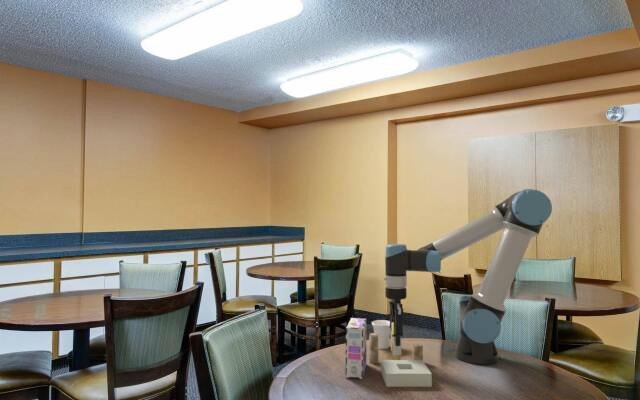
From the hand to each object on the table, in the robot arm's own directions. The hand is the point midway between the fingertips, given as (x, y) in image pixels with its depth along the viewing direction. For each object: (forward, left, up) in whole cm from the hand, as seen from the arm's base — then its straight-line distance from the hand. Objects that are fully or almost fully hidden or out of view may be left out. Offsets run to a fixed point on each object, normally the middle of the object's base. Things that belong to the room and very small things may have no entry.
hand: (396, 352), depth 149 cm
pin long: (0, 0, -4) cm, 4 cm away
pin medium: (+8, 0, -4) cm, 9 cm away
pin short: (-8, 0, -4) cm, 9 cm away
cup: (+2, -17, -4) cm, 18 cm away
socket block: (0, +15, -4) cm, 15 cm away
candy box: (+15, +8, -4) cm, 18 cm away
